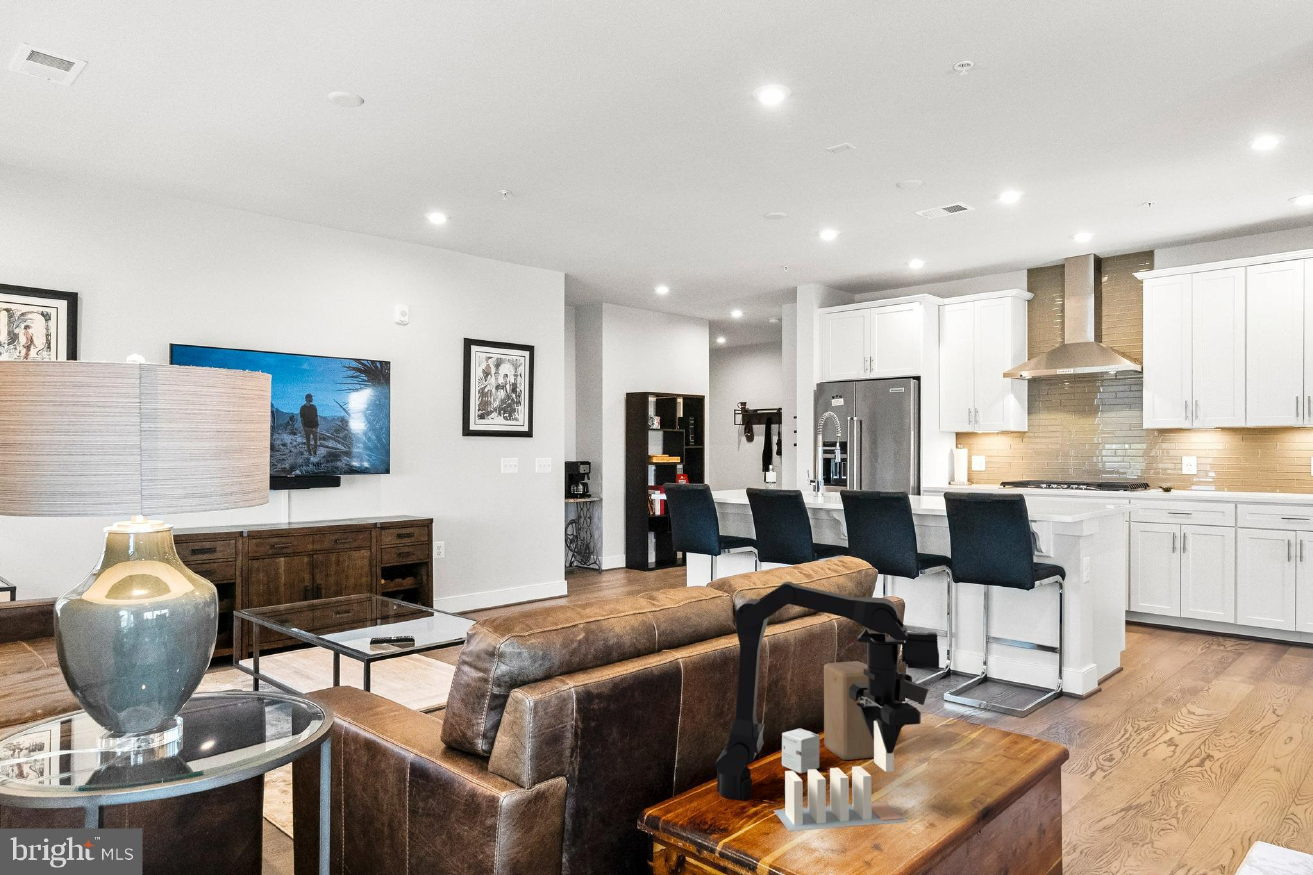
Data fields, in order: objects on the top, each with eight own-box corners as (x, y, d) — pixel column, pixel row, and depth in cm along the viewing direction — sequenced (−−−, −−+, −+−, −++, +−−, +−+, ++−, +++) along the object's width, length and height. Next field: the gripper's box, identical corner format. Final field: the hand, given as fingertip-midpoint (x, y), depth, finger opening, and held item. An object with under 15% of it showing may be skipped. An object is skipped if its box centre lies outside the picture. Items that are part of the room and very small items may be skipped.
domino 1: (794, 825, 150) (794, 781, 150) (785, 813, 155) (785, 771, 155) (802, 824, 150) (802, 780, 150) (793, 813, 155) (793, 770, 155)
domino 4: (863, 819, 152) (863, 776, 152) (852, 808, 157) (852, 766, 157) (871, 819, 153) (871, 775, 153) (860, 808, 157) (859, 766, 158)
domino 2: (817, 823, 151) (817, 779, 151) (807, 812, 156) (807, 769, 156) (825, 822, 151) (825, 779, 151) (815, 811, 156) (815, 769, 156)
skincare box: (781, 765, 182) (781, 732, 182) (799, 759, 186) (799, 727, 186) (801, 774, 177) (801, 739, 178) (820, 767, 181) (820, 734, 181)
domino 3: (840, 821, 151) (840, 777, 152) (830, 810, 156) (830, 768, 157) (848, 820, 152) (848, 777, 152) (838, 809, 157) (837, 767, 157)
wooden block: (843, 762, 184) (842, 672, 185) (822, 747, 194) (822, 662, 195) (882, 757, 187) (881, 669, 188) (860, 743, 197) (859, 659, 197)
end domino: (885, 771, 153) (885, 728, 154) (874, 762, 158) (873, 720, 159) (893, 771, 154) (893, 728, 154) (881, 761, 159) (881, 720, 159)
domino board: (789, 836, 148) (789, 829, 148) (773, 815, 156) (773, 809, 156) (907, 826, 152) (907, 820, 152) (885, 806, 160) (885, 800, 161)
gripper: (947, 676, 149) (948, 763, 148) (898, 653, 167) (899, 730, 167) (890, 679, 147) (890, 767, 146) (847, 655, 165) (848, 733, 165)
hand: (883, 748), depth 156 cm, fingers closed on end domino, 5 cm apart
